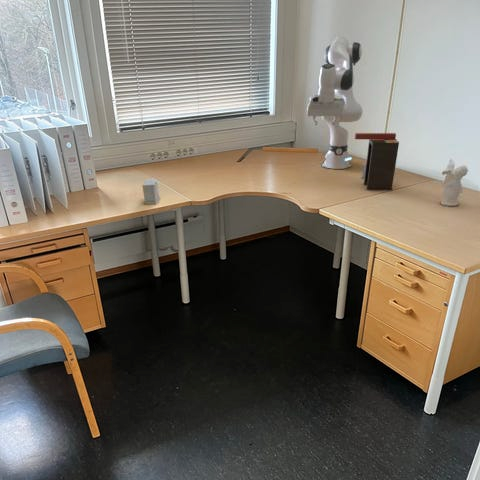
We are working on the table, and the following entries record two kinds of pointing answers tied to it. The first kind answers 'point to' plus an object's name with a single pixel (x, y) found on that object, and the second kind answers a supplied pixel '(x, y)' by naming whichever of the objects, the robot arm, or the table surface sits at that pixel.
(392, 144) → the stand
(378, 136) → the red block
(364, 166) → the medicine box
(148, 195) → the cosmetics box
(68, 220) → the table surface
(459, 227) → the table surface
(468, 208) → the table surface
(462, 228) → the table surface
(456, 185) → the cherub figurine
